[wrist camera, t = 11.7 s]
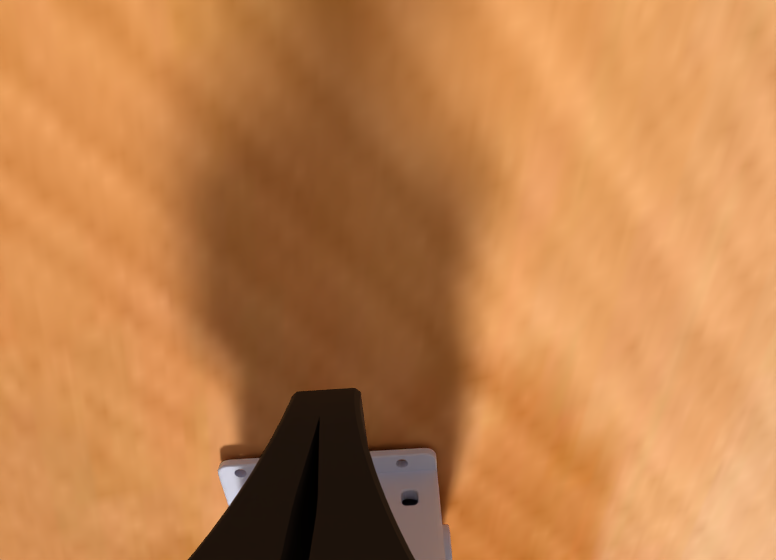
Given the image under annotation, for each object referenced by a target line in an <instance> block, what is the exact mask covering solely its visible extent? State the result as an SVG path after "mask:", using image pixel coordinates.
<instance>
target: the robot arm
mask: <svg viewBox="0 0 776 560" xmlns="http://www.w3.org/2000/svg"><path fill="white" fill-rule="evenodd" d="M401 459H402V460H403V461H400V460H401ZM240 469H243V470H240ZM218 475H219V478H220V481H221V484H222V487H223V490H224V493H225V496H226V499H227V502H228V505H229V507H228V509H227V510H226V511H225V513H224V514H223V515H222V517H221V518H220V520H219V521H218V522H217V524H216V525H215V526H214V528H213V529H212V530H211V532H210V533H209V534H208V536H207V537H206V538H205V539H204V541H203V542H202V543H201V544H200V546H199V547H198V548H197V549H196V551H195V552H194V553H193V554H192V555H191V557H190V558H189V559H188V560H452V551H451V540H450V530H449V525H448V524H446V525H442V516H441V506H440V495H439V485H438V474H437V459H436V453H435V452H434V451H433V450H432V449H429V448H414V449H397V450H381V451H369V448H368V444H367V437H366V429H365V422H364V414H363V407H362V399H361V392H360V391H358V390H357V389H355V388H347V389H331V390H316V391H300V392H296V393H295V394H294V395H293V396H292V398H291V400H290V403H289V405H288V407H287V409H286V411H285V413H284V415H283V417H282V419H281V421H280V423H279V425H278V427H277V429H276V431H275V432H274V434H273V436H272V438H271V440H270V442H269V443H268V445H267V447H266V449H265V450H264V452H263V454H262V455H261V457H260V458H248V459H232V460H225V461H223V462H221V464H220V465H219V469H218Z"/></svg>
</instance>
